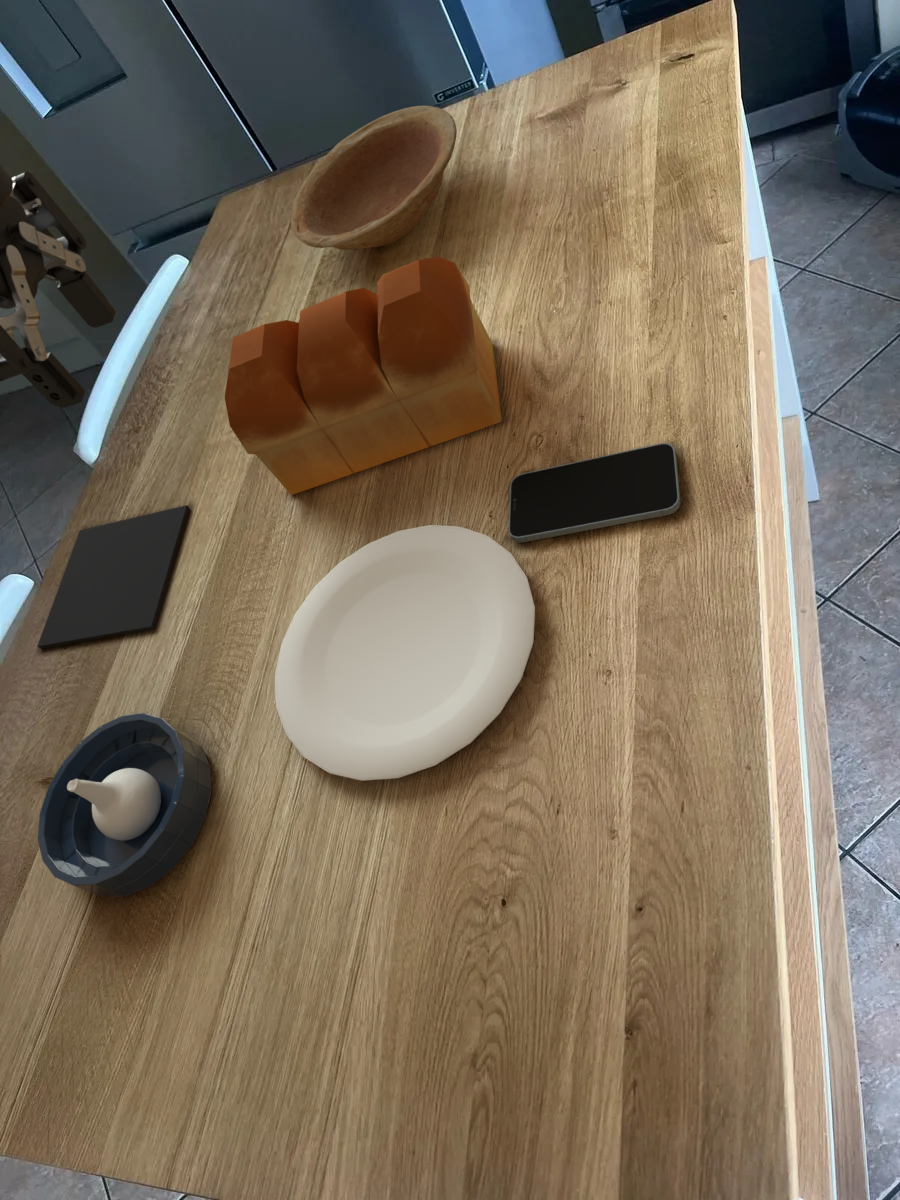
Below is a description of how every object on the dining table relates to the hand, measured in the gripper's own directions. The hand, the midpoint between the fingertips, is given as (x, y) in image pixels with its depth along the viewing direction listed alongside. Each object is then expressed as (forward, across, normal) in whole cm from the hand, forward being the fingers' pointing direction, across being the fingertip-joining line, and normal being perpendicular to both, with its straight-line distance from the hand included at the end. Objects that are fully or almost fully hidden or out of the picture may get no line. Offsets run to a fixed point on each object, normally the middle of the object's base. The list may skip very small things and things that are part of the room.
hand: (90, 360), depth 63 cm
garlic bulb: (+32, +18, -15) cm, 40 cm away
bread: (+30, -22, +8) cm, 38 cm away
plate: (+32, +7, +11) cm, 34 cm away
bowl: (+29, -58, +7) cm, 65 cm away
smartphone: (+30, -4, +29) cm, 42 cm away
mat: (+32, -10, -26) cm, 42 cm away
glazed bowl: (+33, +18, -15) cm, 40 cm away
